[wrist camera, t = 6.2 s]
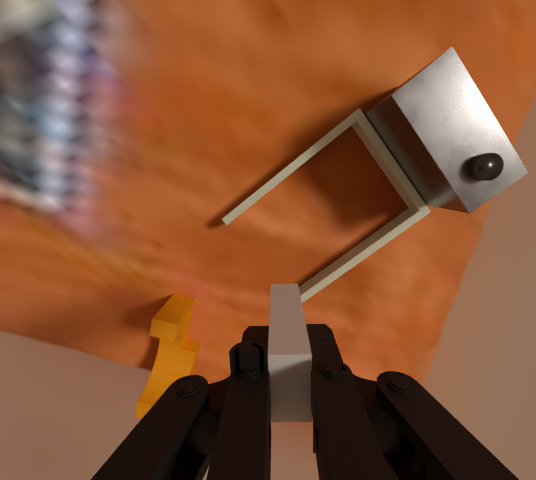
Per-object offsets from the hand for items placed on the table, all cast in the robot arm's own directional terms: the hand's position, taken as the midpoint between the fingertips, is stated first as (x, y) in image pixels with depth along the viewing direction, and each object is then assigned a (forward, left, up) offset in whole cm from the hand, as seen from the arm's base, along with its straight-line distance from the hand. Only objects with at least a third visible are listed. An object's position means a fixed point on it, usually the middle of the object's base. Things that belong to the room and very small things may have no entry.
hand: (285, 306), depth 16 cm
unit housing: (0, +17, -17) cm, 24 cm away
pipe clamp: (+3, -18, -17) cm, 25 cm away
